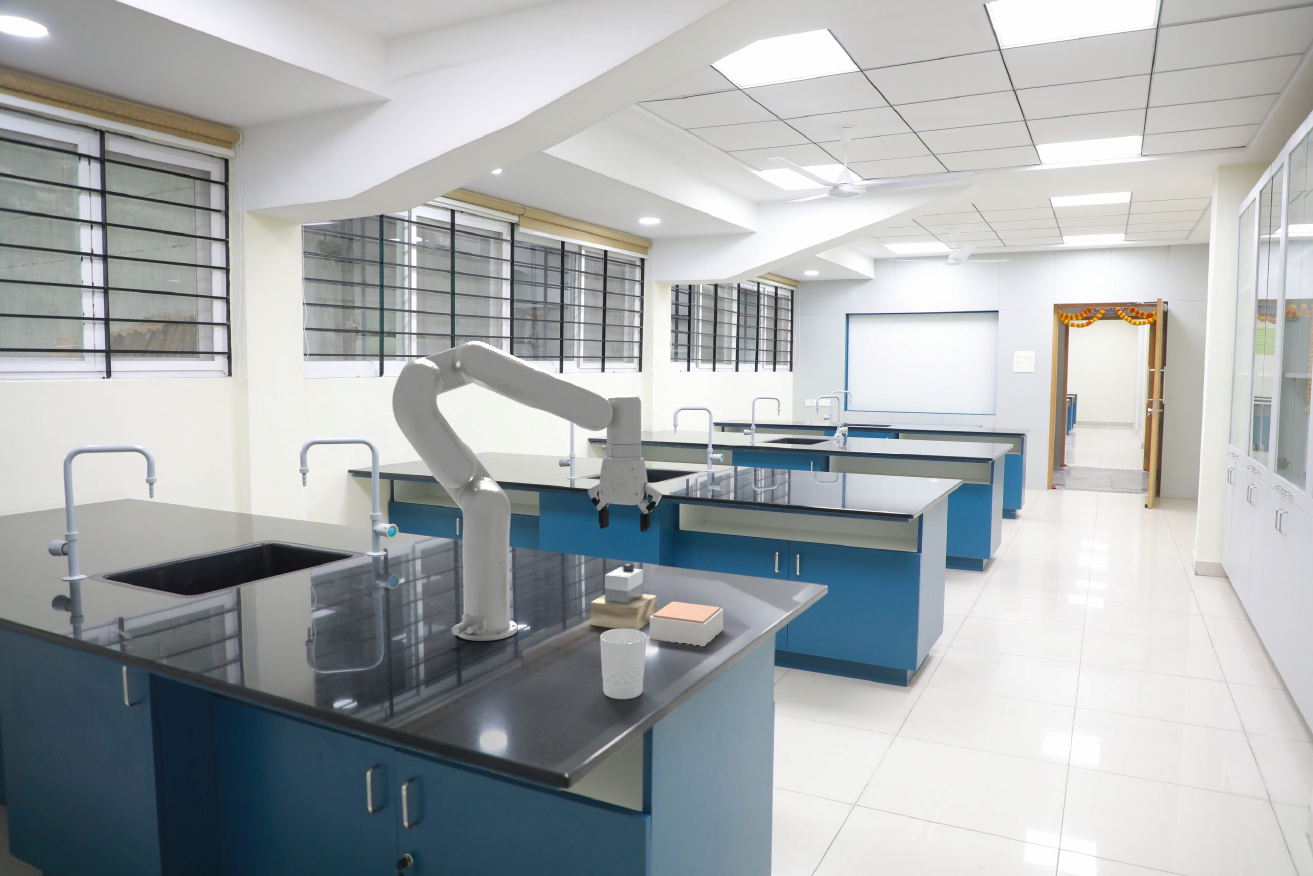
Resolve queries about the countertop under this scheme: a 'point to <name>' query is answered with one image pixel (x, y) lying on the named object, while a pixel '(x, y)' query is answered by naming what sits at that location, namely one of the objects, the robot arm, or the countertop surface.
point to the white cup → (623, 662)
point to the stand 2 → (686, 623)
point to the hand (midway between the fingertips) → (624, 529)
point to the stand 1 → (623, 613)
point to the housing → (624, 585)
